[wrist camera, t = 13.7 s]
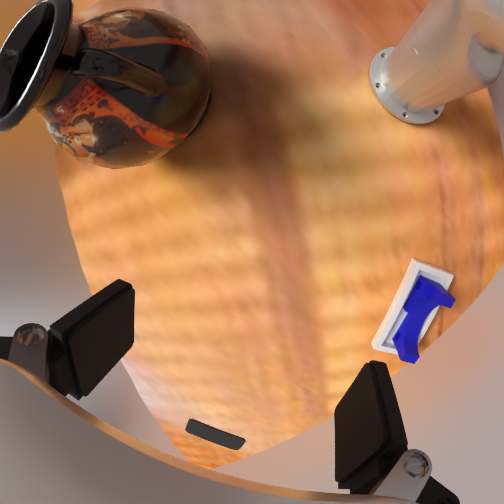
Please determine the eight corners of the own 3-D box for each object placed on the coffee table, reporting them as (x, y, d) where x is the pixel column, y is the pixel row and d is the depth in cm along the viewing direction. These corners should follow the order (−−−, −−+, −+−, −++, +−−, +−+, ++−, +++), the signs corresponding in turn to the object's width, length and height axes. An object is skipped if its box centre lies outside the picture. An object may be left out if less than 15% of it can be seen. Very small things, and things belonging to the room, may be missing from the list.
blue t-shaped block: (419, 274, 36) (434, 290, 30) (439, 283, 36) (455, 299, 30) (385, 336, 40) (393, 358, 34) (404, 342, 40) (414, 363, 34)
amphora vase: (99, 148, 40) (-39, 159, 14) (141, 39, 33) (24, -18, 7) (200, 186, 39) (42, 225, 13) (253, 56, 32) (172, -73, 5)
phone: (237, 451, 57) (184, 431, 58) (237, 448, 58) (185, 429, 59) (246, 440, 55) (189, 418, 56) (246, 437, 56) (190, 416, 57)
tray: (411, 257, 36) (416, 261, 34) (448, 271, 35) (453, 275, 33) (371, 342, 41) (373, 349, 39) (407, 350, 41) (410, 357, 39)
